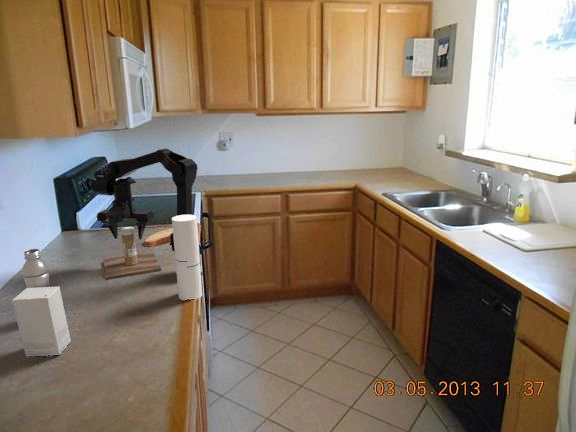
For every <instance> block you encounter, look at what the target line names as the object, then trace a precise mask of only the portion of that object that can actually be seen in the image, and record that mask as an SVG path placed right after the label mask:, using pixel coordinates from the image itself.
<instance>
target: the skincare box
mask: <svg viewBox="0 0 576 432" xmlns="http://www.w3.org/2000/svg"><path fill="white" fill-rule="evenodd" d="M63 302H64V301H63V298H62V293H61V288H60V286H50V287H39V288H27V287H26V288H25V289H23V291H21V292H20V293H19V294H18V295H16V296H15V297H13V299H11V303H12V307H13V310H14V315H15V318H16V319H15V320H16V322H17V326H18V329H19V334H20V338H21V342H22V346H23V347H22V348H23V351H24V354H25V357H26V356H46V357H49V356H48V355H59V354H61V355H62V353H63V352H64V351H65V350H66V348H67V347H68V346H69V345H70V344H71V341H72V340H71V335H70V330H69V326H68V321H67V317H66V311H65V308H64V307H65V306H64V303H63ZM68 344H69V345H68ZM67 345H68V346H67ZM64 349H65V350H64ZM63 350H64V351H63ZM62 351H63V352H62ZM61 352H62V353H61Z"/></svg>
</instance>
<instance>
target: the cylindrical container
mask: <svg viewBox="0 0 576 432" xmlns="http://www.w3.org/2000/svg"><path fill="white" fill-rule="evenodd" d="M171 224H172V225H171V226H172V227H171V228H173V238H174V249H175V253H174V259H175V260H174V261H175V269H176V281H177V292H178V293H177V294H178V299H179V300H181V301H185V300H187V299H194V300H193V301H195V300H198V299H200V298H201V297H202V296H203V287H202V276H201V272H202V271H201V258H200V255H199V245H200V244H199V243H200V242H199V231H198V218H197V215H195V214H192V215H178V216H177V215H176V216H172V217H171Z"/></svg>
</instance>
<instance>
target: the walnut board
mask: <svg viewBox="0 0 576 432" xmlns="http://www.w3.org/2000/svg"><path fill="white" fill-rule="evenodd" d="M137 261H138V263H137V264H135V265H131V266H128V265H125V258H124V255H123V256H117V257H110V258H104V259H103V267H104V273H105V280H106V281H109V280H114V279H119V278H120V279H121V278H126V277H131V276H132V277H133V276H137V275H143V274H149V273H155V272H161V271H162V267H161V265H160V262H159V261H158V260H157V257H156V255H155V253H154V251H149V252H143V253H137Z"/></svg>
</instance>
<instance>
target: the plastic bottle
mask: <svg viewBox="0 0 576 432" xmlns="http://www.w3.org/2000/svg"><path fill="white" fill-rule="evenodd" d="M23 255H24V260H25V262H24V263H23V266H22V267H21V275H22V279H23V280H24V283H25V287H26V288H39V287H51V285H50V274H49V273H50V272H49V271H50V269H49V265H48V263H47V262H46V261H45V260H43V259H42V258H41V256H42V254H41V252H40V249H38V248H32V249H26V250H25V251H24V252H23Z"/></svg>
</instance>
